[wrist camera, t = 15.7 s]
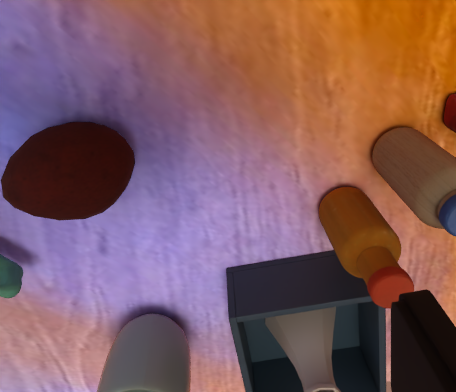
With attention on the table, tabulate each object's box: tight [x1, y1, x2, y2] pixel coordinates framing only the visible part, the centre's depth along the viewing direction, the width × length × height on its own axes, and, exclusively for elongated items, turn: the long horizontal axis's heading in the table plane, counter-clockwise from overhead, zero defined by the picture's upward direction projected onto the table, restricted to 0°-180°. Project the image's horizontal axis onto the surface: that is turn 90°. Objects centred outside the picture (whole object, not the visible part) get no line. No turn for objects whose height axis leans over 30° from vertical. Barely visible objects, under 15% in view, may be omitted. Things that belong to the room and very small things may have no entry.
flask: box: [265, 307, 341, 392], centre depth 38 cm, size 7×7×10 cm
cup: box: [97, 313, 191, 392], centre depth 39 cm, size 8×8×10 cm
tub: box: [226, 250, 386, 392], centre depth 40 cm, size 13×13×7 cm
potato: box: [1, 122, 135, 220], centre depth 32 cm, size 7×10×6 cm
